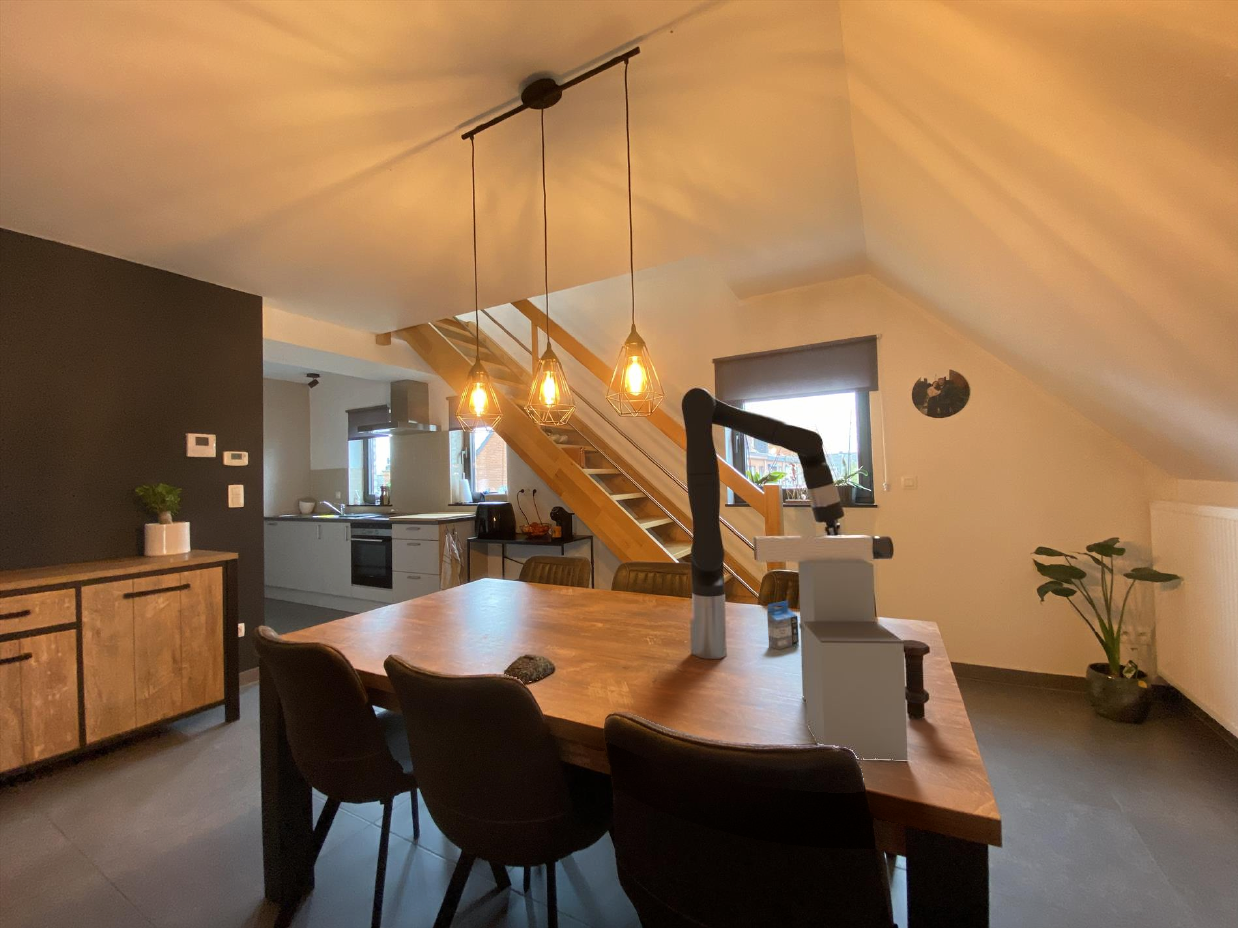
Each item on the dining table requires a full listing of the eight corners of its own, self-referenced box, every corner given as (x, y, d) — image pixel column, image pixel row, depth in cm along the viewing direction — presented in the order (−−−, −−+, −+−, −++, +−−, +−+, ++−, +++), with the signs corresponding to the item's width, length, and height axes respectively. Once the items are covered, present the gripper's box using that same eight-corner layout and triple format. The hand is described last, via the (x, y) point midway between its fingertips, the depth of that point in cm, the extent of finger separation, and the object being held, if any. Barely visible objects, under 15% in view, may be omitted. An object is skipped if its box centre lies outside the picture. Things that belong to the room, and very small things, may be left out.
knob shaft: (757, 562, 110) (756, 538, 110) (753, 558, 115) (753, 536, 115) (894, 561, 107) (893, 537, 107) (884, 557, 112) (883, 534, 112)
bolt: (895, 710, 109) (893, 639, 109) (918, 709, 109) (915, 638, 109) (913, 723, 103) (910, 648, 103) (937, 722, 103) (934, 647, 104)
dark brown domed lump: (561, 673, 135) (561, 654, 135) (523, 688, 126) (522, 667, 126) (531, 661, 144) (531, 644, 144) (493, 675, 134) (493, 656, 135)
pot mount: (825, 759, 91) (819, 578, 92) (791, 695, 117) (786, 555, 118) (911, 761, 90) (905, 578, 90) (858, 696, 116) (853, 554, 116)
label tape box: (778, 650, 147) (777, 607, 148) (767, 646, 151) (766, 604, 151) (799, 644, 152) (798, 602, 152) (788, 640, 155) (787, 599, 155)
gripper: (812, 501, 146) (828, 556, 145) (809, 509, 133) (826, 570, 132) (840, 495, 143) (856, 551, 142) (839, 502, 130) (857, 565, 129)
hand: (842, 560), depth 137 cm, fingers open, 8 cm apart
